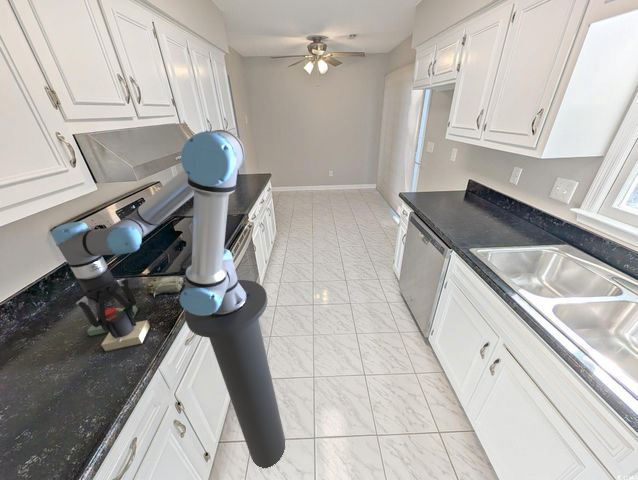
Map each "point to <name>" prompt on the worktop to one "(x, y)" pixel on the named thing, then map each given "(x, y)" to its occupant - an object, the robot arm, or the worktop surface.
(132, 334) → the dial panel
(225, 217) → the robot arm
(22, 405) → the worktop surface
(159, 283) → the mushroom
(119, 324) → the dial
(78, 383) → the worktop surface
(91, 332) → the switch base
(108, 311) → the switch button
